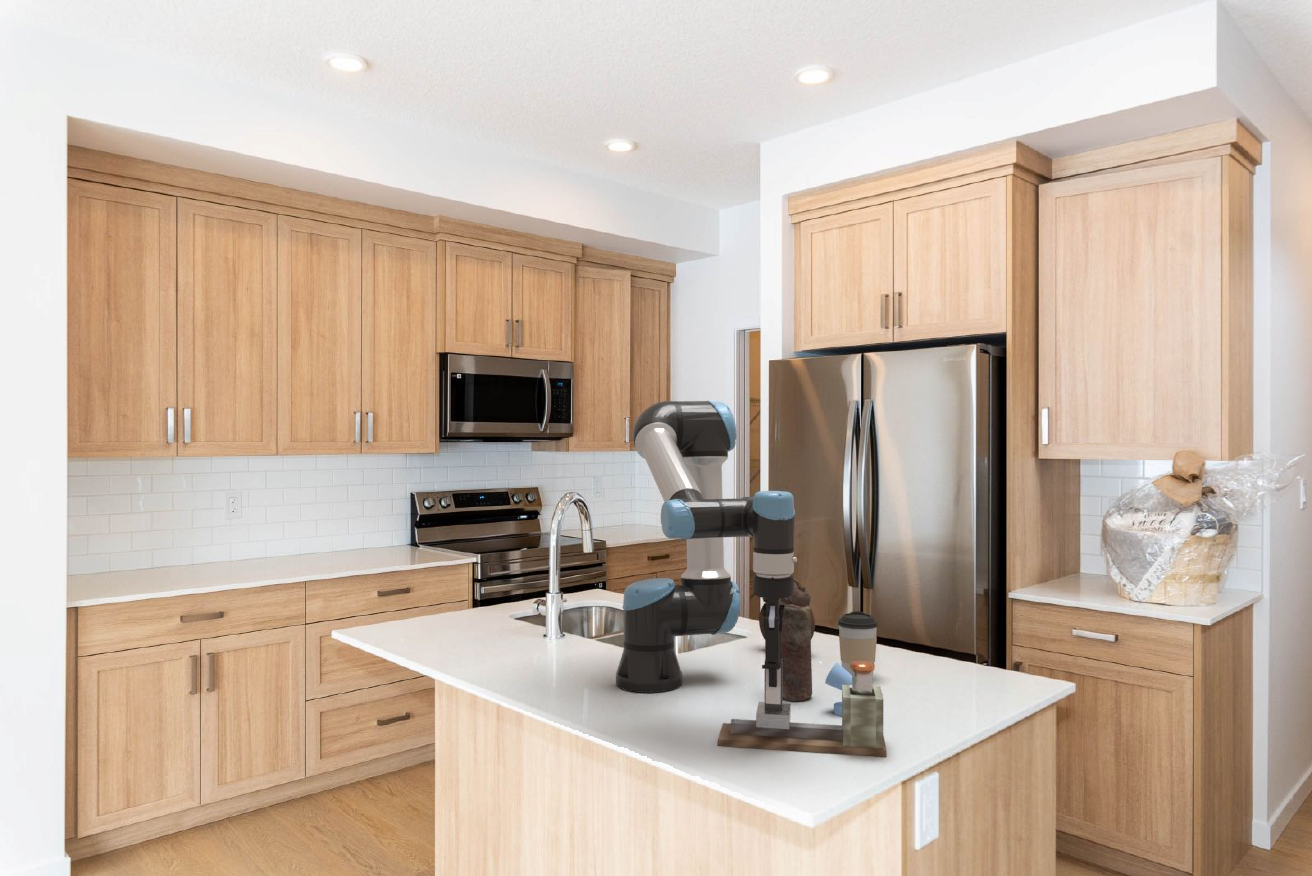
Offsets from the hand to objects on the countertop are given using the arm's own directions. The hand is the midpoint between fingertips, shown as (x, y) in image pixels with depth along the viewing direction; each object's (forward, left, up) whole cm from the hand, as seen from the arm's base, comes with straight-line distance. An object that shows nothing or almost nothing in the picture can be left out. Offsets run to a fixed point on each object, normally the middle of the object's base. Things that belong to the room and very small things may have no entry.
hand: (773, 700), depth 163 cm
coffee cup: (+17, +45, -8) cm, 49 cm away
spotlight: (+13, +19, -8) cm, 24 cm away
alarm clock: (0, +65, -8) cm, 65 cm away
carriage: (0, 0, -4) cm, 4 cm away
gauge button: (+16, 0, 0) cm, 16 cm away
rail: (+5, 0, -8) cm, 9 cm away
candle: (+3, +28, -8) cm, 29 cm away
